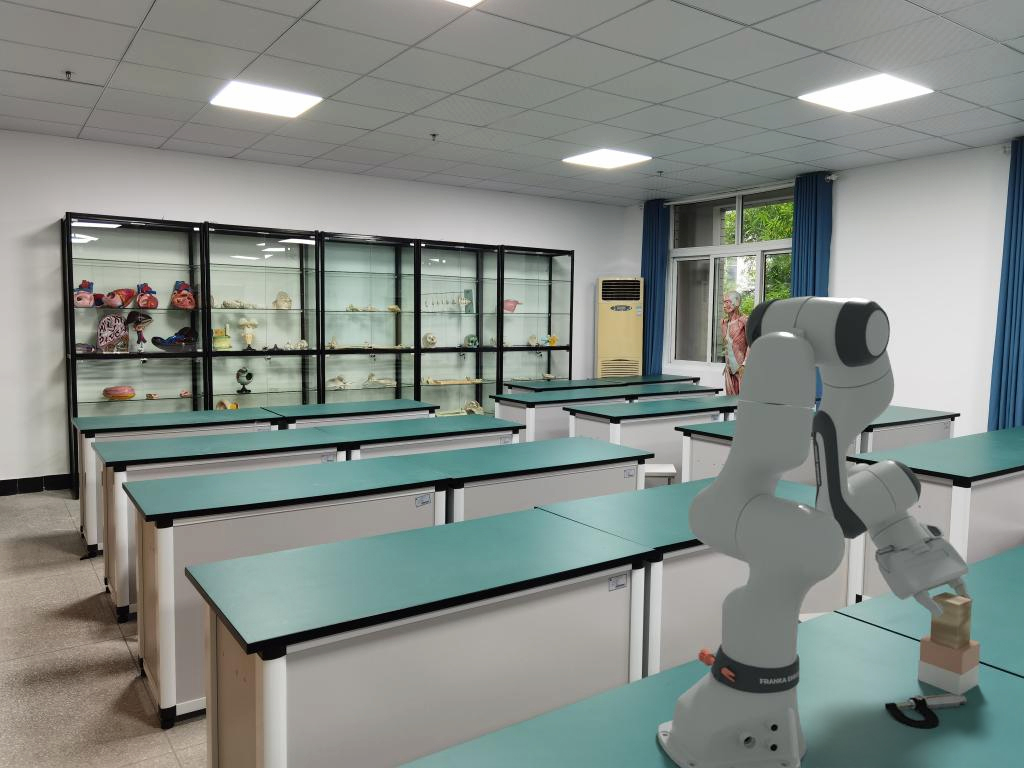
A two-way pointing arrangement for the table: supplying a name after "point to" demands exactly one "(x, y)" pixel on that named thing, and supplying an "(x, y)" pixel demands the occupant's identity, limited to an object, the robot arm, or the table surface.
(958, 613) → the oak block
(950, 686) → the off-white tower block
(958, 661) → the terracotta tower block
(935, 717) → the micrometer
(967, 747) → the table surface
